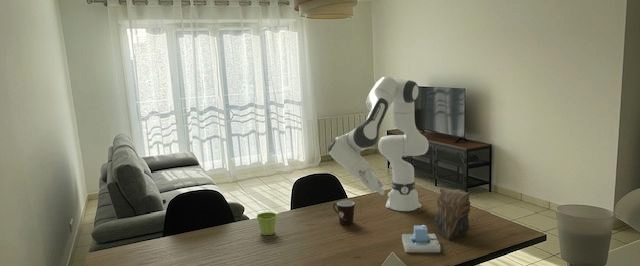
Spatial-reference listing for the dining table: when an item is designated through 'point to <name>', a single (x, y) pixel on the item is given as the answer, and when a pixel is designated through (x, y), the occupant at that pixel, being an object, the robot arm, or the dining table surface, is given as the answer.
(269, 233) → the plant pot
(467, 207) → the brown tall rough block
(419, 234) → the servo
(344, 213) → the coffee mug
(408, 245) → the chassis
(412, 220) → the dining table surface
